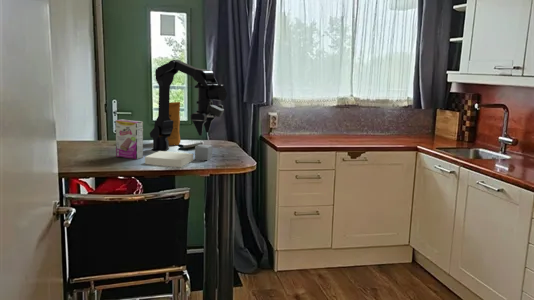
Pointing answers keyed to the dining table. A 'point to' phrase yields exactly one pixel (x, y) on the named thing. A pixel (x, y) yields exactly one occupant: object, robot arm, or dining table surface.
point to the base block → (169, 158)
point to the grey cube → (203, 152)
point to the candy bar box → (129, 139)
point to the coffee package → (174, 123)
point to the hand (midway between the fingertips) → (204, 134)
